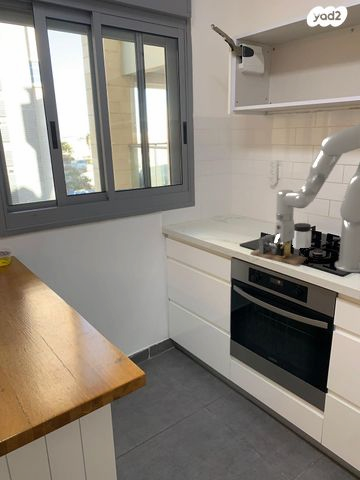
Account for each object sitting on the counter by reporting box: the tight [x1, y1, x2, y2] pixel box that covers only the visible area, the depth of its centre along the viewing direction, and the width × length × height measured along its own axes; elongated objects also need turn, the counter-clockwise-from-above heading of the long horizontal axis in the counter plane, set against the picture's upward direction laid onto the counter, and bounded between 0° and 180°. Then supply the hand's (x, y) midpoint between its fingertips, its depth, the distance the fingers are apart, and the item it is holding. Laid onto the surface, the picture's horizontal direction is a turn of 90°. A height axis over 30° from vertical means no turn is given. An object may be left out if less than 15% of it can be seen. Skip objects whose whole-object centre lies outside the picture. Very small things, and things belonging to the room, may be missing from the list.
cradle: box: [272, 247, 277, 256], centre depth 172 cm, size 2×3×4 cm, turn 132°
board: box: [250, 248, 308, 267], centre depth 171 cm, size 25×10×1 cm, turn 43°
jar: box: [291, 222, 312, 250], centre depth 182 cm, size 9×8×12 cm
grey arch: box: [258, 234, 274, 254], centre depth 175 cm, size 2×8×9 cm, turn 133°
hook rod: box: [266, 242, 292, 258], centre depth 172 cm, size 16×5×6 cm, turn 43°
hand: (283, 253), depth 169 cm, fingers closed on hook rod, 5 cm apart
